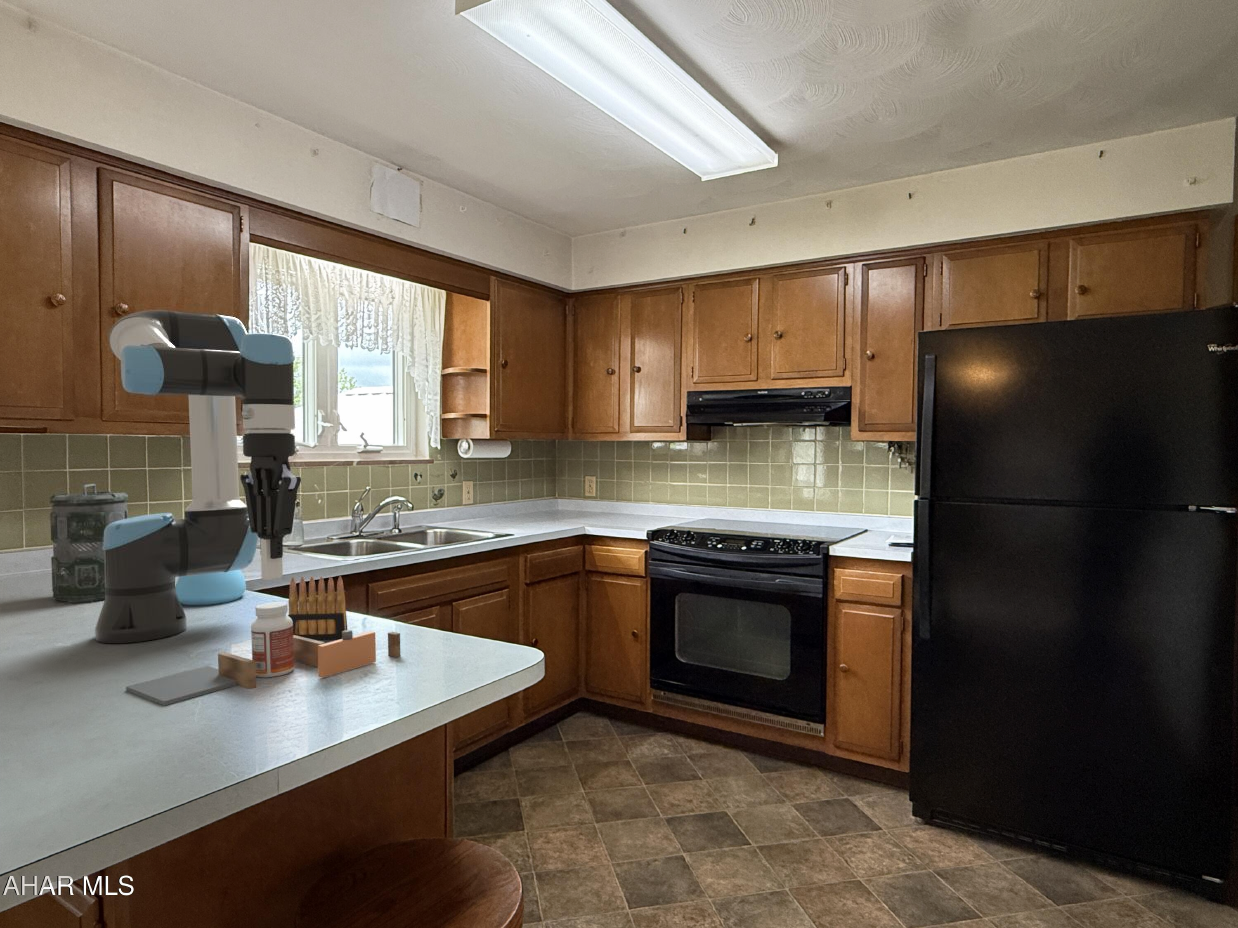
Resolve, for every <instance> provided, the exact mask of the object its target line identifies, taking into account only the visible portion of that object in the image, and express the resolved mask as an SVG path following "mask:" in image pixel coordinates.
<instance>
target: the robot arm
mask: <svg viewBox="0 0 1238 928" xmlns="http://www.w3.org/2000/svg"><path fill="white" fill-rule="evenodd" d="M108 344H109V347H110V349H111V351H112V353H113V355H114V356H115V357H116V358H117V359H118V360H120V375H121V377H120V378H121V383H122V387H123V389H124V391H126V392H128V393H130V394H141V395H143V394H144V395H147V396H154V395H172V396H174V395H177V396H178V395H181V396H184V395H185V396H188V414H189V417H188V418H189V437H190V439H189V440H190V462H191V468H190V469H191V487H192V488H191V489H192V491H191V492H192V493H191V494H192V502H191V503H190V504H189V505H188V506H186V508H185V509H184V518H180V519H175V516H174V514H173V513H171V512H160V513H159V512H158V513H151V514H145V515H143V514H142V515H139V516H134V517H129V518H127V519H123V520H119V521H115V522H113V523H110V524H109V525H108V526H107V527H106V528H105V530H104V546H103V547H102V549H103V550H104V565H105V599H104V602H103V604H102V607H101V610H100V613H99V616H98V619H97V622H96V624H95V625H96V626H95V628H94V629H95V630H94V632H95V633H94V634H95V635H94V636H95V641H97V642H99V643H102V644H104V643H105V644H127V643H128V644H129V643H138V642H146V641H151V640H152V641H153V640H156V639H157V640H158V639H163V638H167V637H170V636H174V635H176V634H180V633H181V632H184V631H186V630H187V628H188V626H187V624H188V623H187V615H186V614H185V610H184V608H183V606H182V603H181V602H180V601H179V599H178V596H177V594H176V590H175V587H176V578H179V577H180V576H189V575H198V574H208V573H217V572H225V573H226V572H229V571H233V570H240V571H241V570H245V569H246V568H248V567H249V566H250V565H251V564H252V563H253V560H254V558H255V556H256V555H255V554H256V552H257V546H258V541H259V540H260V541H259V542H260V544H259V545H260V563H261V565H260V566H261V567H260V570H261V575H260V576H261V580H264V581H268V580H269V581H270V580H274V579H280V578H283V577H284V576H283V575H284V574H283V556H284V551H283V547H284V546H283V545H284V544H283V539H284V538H285V537H286V536H287V535H291V534H292V532H293V527H294V517H295V512H296V511H295V510H296V503H297V496H298V489H299V487H300V485H301V483H302V478H301V476H300V475H294V474H293V473H292V472H291V465H290V462H289V461H290V460H289V458H290V457H292V456H294V455H295V454H296V439H295V438H296V435H295V434H294V433H292V430H295V428H296V422H295V421H296V420H295V419H296V418H295V405H294V404H295V402H294V400H295V396H294V395H295V394H294V393H295V386H294V384H295V383H294V377H295V376H294V375H295V374H294V373H295V370H294V361H295V356H294V348H293V340H292V339H291V338H290V337H288V336H286V335H283V334H275V333H262V332H261V333H258V332H257V333H255V332H254V333H248V332H247V330H246V328H245V326H244V324H243V322H242V321H241V320H240V319H238V318H236V317H233V316H229V315H228V316H226V315H220V314H218V313H213V314H212V313H198V312H188V311H187V312H185V311H174V310H166V309H150V310H142V311H136V312H133V313H131V314H128V315H126V316H123V317H122V318H120V319H119V320H117V321H116V322H115V323H114V324H113V325H112V327H111V329H110V330H109V334H108ZM236 397H240V398H241V404H242V411H241V415H242V428H243V430H246V431H247V433H244V434H243V435H242V452H243V453H242V454H243V455H244V456H245V457H248V458H251V459H250V464H249V471H248V473H244V474H243V473H242V474H240V477H239V462H238V460H239V459H238V458H239V457H238V436H237V435H238V434H237V433H238V431H237V411H236V409H237V408H236ZM239 479H240V482H241V484H242V487H243V490H244V497H245V502H246V503H245V502H243V501H242V500H241V499H240V487H239V486H240V484H239V483H240V482H239ZM258 539H259V540H258Z"/></svg>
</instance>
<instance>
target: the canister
mask: <svg viewBox="0 0 1238 928" xmlns="http://www.w3.org/2000/svg"><path fill="white" fill-rule="evenodd" d="M90 487H91V488H92V491H88V492H87V488H90ZM128 495H129V494H127V493H126V492H124V491H123V492H112V491H97V485H96V484H95V483H90V484H84V485H83V487H82V493H71V494H68V493H67V492H66V493H58V494H53V495H52V496H51V497H50V499H49V504H52V505H51V512H50V513H49V515H50V517H49V518H50V520H49V522H50V540H51V541H52V552H53V553H52V554H53V555H52V556H51V558H50V559H51V561H50V562H51V587H52V598H53V599H54V600H56V601H60V602H63V603H64V602H69V603H70V604H83V603H94V602H98V601H99V600H105V565H104V550H103V549H102V547H103V546H104V530H105V528H106V527H107V526H108V525H109V524H110V523H113V522H115V521H119V520H123V519H127V518H130V516H129V508H128V502H127V500H129V496H128Z"/></svg>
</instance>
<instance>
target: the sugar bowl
mask: <svg viewBox="0 0 1238 928" xmlns="http://www.w3.org/2000/svg"><path fill="white" fill-rule="evenodd" d="M175 590H176V594H177V596H178V599H179V601H180V603H181V605H185V606H208V605H218V604H223V603H229V602H232V601H236V600H239V599H240V598H241V597H242V596H243V595H244V593H245V592H246V590H247V583H246V578H245V577H244V575H243V572H242V570H241V569H240V570H233V571H229V572H226V573H225V572H217V573H208V574H198V575H189V576H180V577H177V581H176V582H175Z"/></svg>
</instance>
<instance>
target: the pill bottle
mask: <svg viewBox="0 0 1238 928" xmlns="http://www.w3.org/2000/svg"><path fill="white" fill-rule="evenodd" d="M288 612H289V606H288V603H287V602H284V601H274V602H273V601H272V602H271V601H270V602H265V603H260V604H258V605H256V606H255V616H256V617H257V618H256V619H254V620H253V621H252V623H251V626H250V629H251V630H250V631H251V632H250V633H251V634H250V635H251V656H252V657H251V660H254V661H255V667H256V678H257V677H258V678H262V679H263V678H266V679H267V678H274V677H280V676H283V675H287V674H290V673H291V672H292V671H294V669H295V661H294V640H293V621H292V619H291V618H290V617H288V615H287V613H288Z"/></svg>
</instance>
